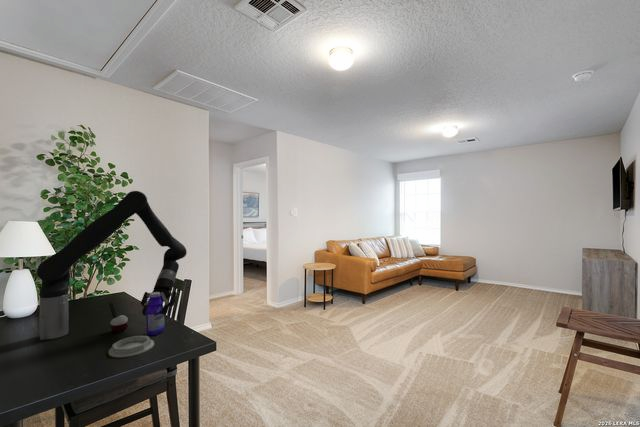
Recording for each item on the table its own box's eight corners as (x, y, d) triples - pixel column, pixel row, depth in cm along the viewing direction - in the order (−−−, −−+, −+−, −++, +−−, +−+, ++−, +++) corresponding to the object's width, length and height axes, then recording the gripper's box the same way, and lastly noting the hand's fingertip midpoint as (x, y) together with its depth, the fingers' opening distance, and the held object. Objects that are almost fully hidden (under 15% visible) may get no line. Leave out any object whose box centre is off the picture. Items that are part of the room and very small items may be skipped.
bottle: (155, 336, 128) (154, 295, 128) (143, 335, 130) (143, 294, 129) (167, 330, 135) (166, 291, 135) (155, 329, 137) (155, 290, 137)
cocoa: (130, 332, 134) (131, 305, 134) (113, 336, 130) (115, 308, 129) (122, 326, 140) (123, 300, 140) (106, 329, 135) (107, 302, 135)
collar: (112, 361, 107) (112, 354, 107) (105, 348, 118) (105, 341, 118) (159, 348, 117) (159, 342, 117) (148, 336, 128) (148, 331, 128)
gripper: (146, 277, 139) (133, 310, 128) (179, 276, 140) (168, 310, 129) (152, 286, 145) (139, 319, 133) (183, 285, 145) (173, 318, 134)
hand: (153, 314), depth 131 cm, fingers open, 7 cm apart
